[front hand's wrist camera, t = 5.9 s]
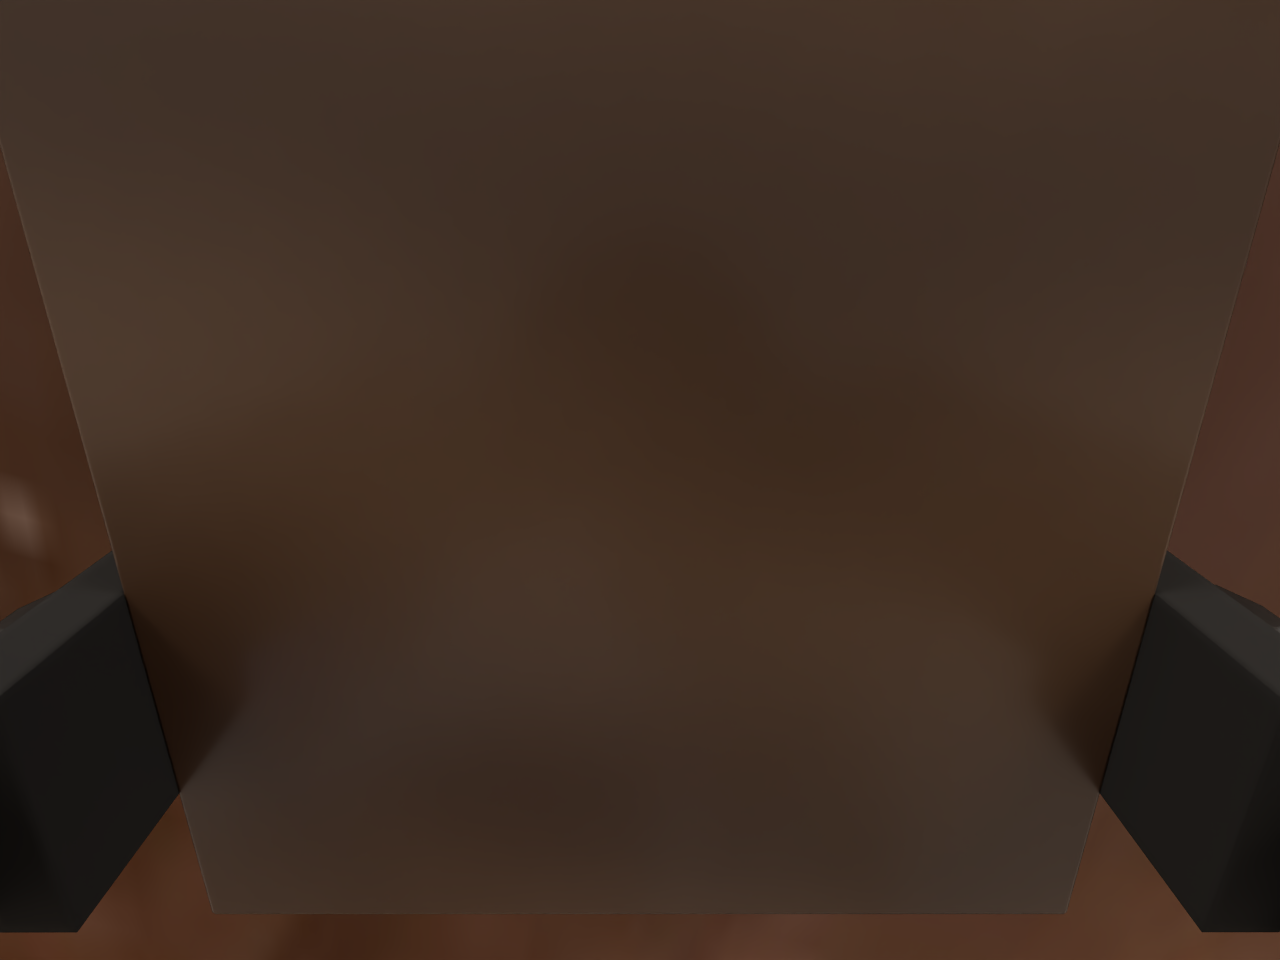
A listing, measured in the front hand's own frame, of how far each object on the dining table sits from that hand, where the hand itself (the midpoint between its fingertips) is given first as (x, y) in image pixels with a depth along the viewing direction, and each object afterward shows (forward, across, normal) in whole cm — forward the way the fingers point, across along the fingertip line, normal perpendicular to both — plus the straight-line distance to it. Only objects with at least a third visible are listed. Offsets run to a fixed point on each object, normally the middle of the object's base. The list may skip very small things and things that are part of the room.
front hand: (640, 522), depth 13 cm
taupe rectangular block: (+5, 0, -6) cm, 8 cm away
